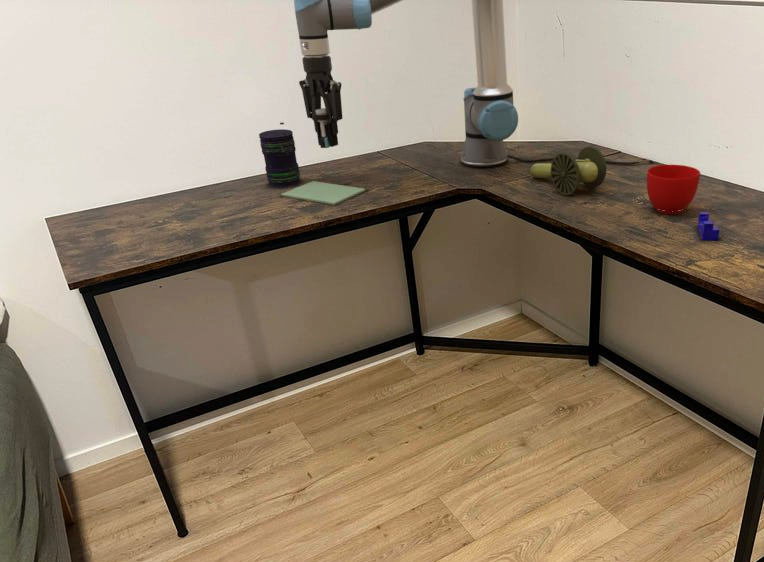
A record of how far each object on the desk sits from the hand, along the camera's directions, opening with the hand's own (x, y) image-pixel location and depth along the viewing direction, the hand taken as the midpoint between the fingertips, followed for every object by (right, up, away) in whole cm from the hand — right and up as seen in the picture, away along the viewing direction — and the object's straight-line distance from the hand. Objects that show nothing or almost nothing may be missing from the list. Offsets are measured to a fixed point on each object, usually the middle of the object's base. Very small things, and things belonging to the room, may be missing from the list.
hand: (328, 144), depth 192 cm
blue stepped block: (+97, -32, -33) cm, 108 cm away
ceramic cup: (+93, -22, -16) cm, 97 cm away
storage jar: (-16, -8, +14) cm, 23 cm away
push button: (0, 0, 0) cm, 1 cm away
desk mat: (-2, -13, +4) cm, 14 cm away
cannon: (+67, -11, +2) cm, 68 cm away
